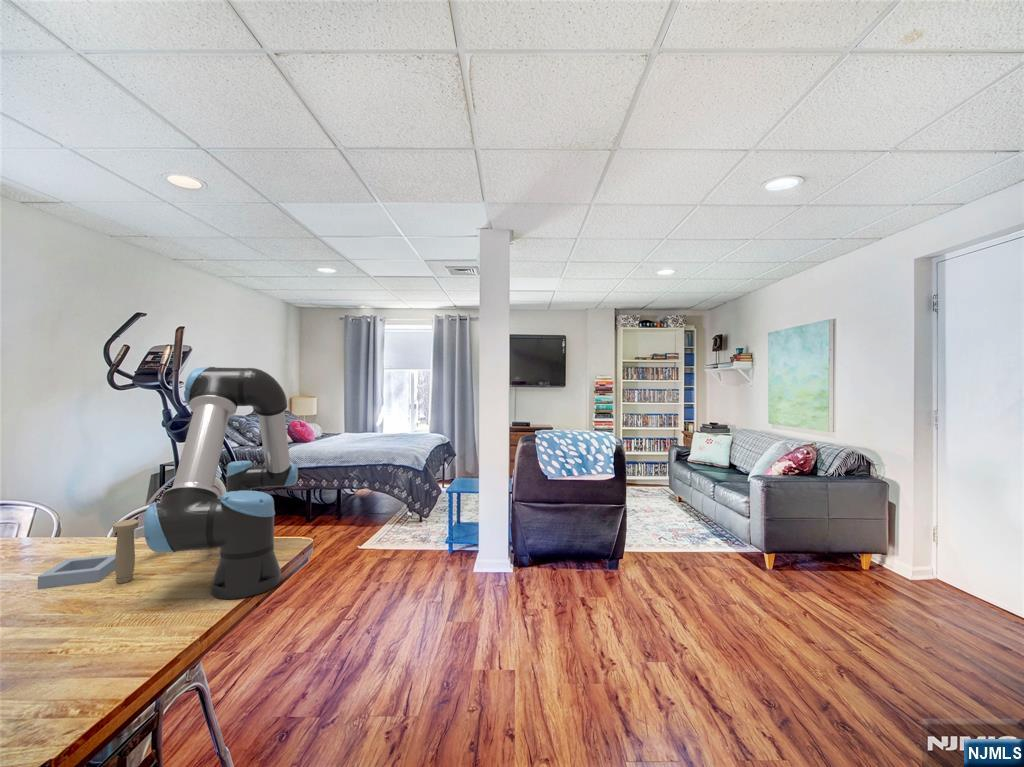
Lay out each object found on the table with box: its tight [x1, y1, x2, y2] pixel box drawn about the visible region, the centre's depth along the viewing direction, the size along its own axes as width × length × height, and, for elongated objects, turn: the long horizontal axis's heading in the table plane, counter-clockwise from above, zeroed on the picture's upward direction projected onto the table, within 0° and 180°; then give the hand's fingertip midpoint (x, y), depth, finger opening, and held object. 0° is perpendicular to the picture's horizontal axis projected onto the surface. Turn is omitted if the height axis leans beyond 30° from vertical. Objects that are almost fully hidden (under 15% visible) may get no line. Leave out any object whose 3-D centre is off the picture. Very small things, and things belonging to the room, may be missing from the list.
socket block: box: [37, 553, 116, 590], centre depth 116 cm, size 12×12×3 cm
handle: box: [112, 518, 139, 584], centre depth 113 cm, size 5×6×15 cm
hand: (156, 535), depth 122 cm, fingers open, 13 cm apart
